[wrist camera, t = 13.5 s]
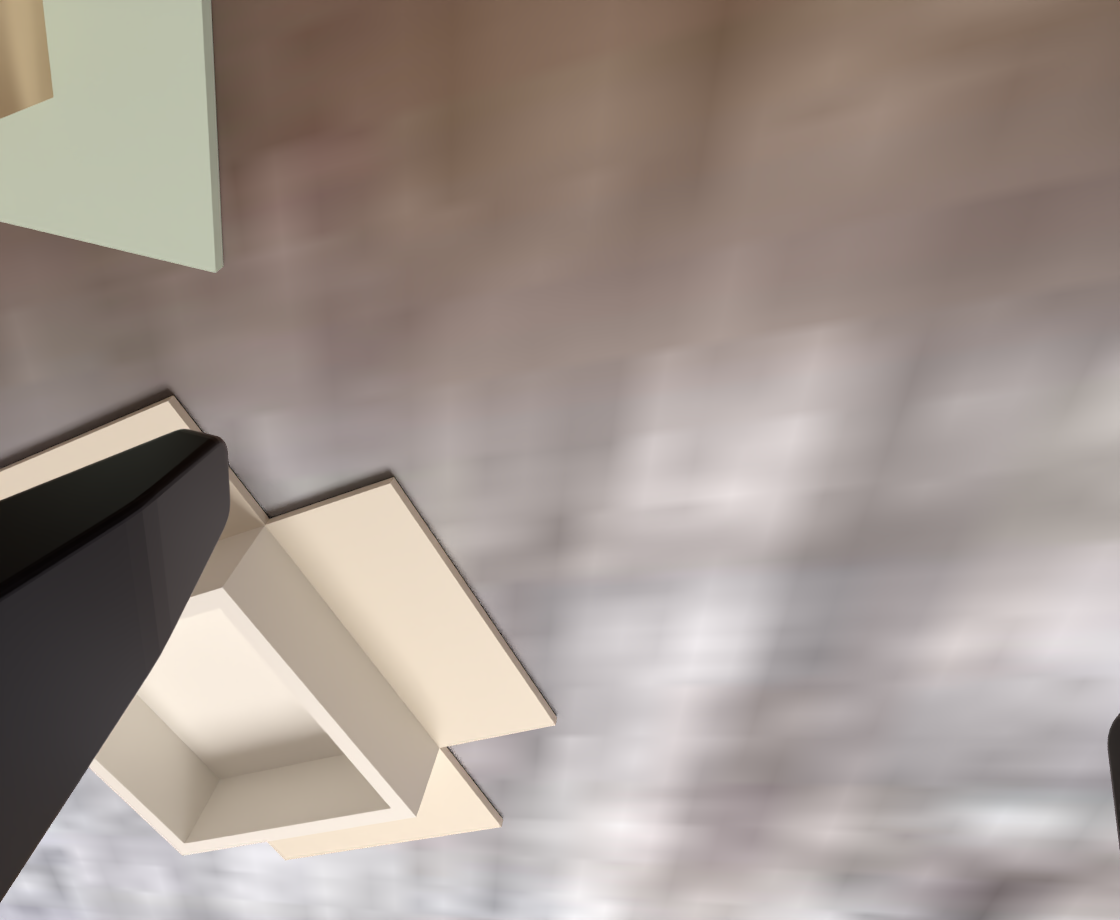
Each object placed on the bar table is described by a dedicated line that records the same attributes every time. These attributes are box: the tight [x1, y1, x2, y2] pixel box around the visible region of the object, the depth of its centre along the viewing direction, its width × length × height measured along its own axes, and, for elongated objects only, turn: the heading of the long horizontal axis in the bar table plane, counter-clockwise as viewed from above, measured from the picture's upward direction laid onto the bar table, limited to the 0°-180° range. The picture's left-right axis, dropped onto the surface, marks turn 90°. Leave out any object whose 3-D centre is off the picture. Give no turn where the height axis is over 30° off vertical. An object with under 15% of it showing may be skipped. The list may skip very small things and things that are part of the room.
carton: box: [0, 395, 557, 860], centre depth 30 cm, size 19×19×3 cm
